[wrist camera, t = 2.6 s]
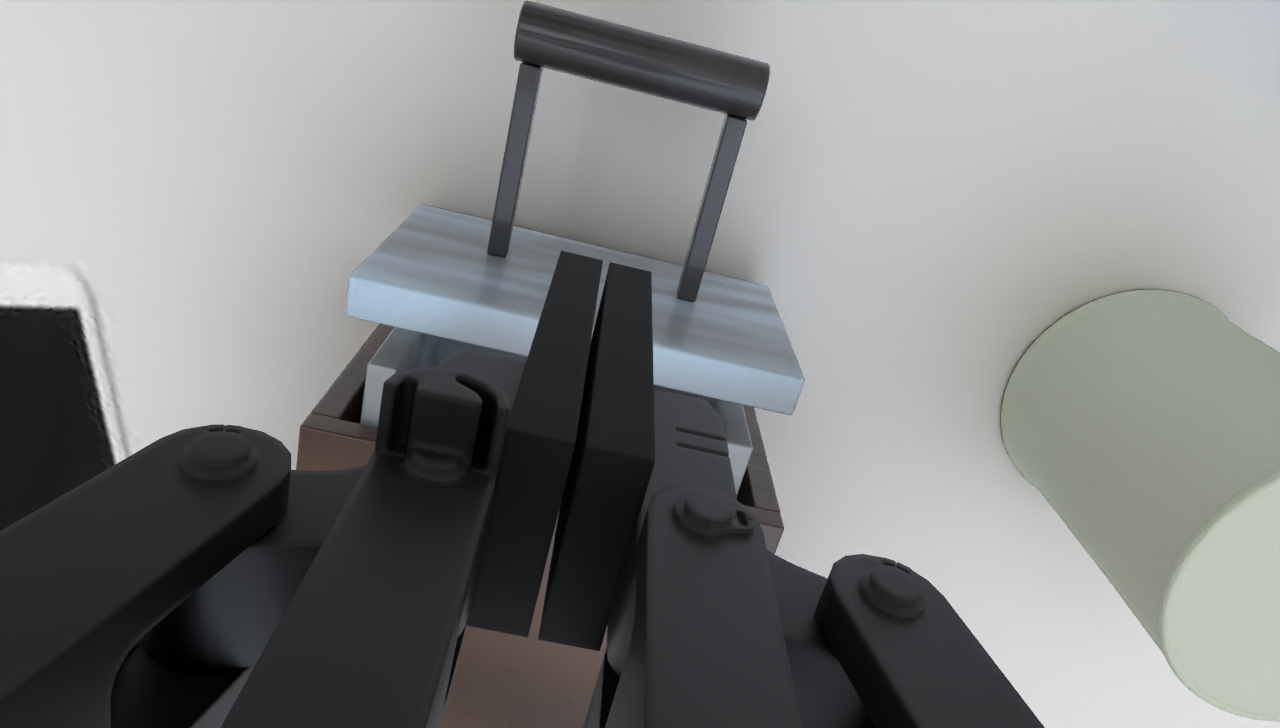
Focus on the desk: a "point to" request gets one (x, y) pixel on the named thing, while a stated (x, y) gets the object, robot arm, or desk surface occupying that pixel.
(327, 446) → the cabinet
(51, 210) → the desk surface
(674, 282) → the drawer
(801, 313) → the desk surface
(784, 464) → the desk surface
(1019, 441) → the can
